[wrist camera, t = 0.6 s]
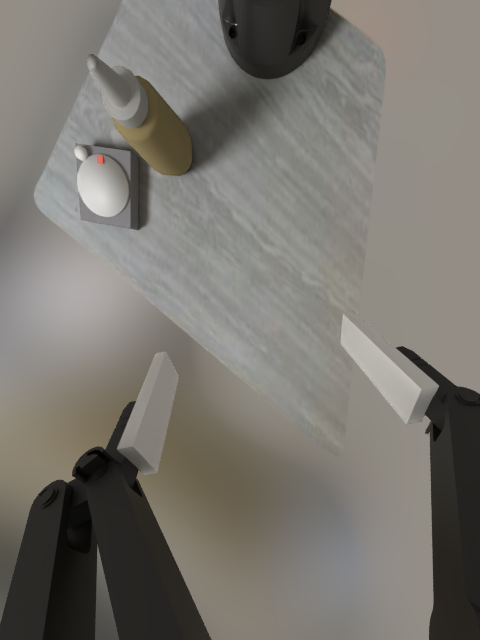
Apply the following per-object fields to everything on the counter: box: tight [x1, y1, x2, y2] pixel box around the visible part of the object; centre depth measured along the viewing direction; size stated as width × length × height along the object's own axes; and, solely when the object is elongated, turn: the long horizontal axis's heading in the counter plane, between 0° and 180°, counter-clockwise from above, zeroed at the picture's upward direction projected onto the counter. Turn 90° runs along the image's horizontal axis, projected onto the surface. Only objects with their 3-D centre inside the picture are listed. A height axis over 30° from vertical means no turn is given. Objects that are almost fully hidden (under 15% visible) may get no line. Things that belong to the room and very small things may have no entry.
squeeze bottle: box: [87, 54, 192, 176], centre depth 27 cm, size 8×8×18 cm
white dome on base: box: [75, 143, 139, 230], centre depth 37 cm, size 12×10×3 cm
